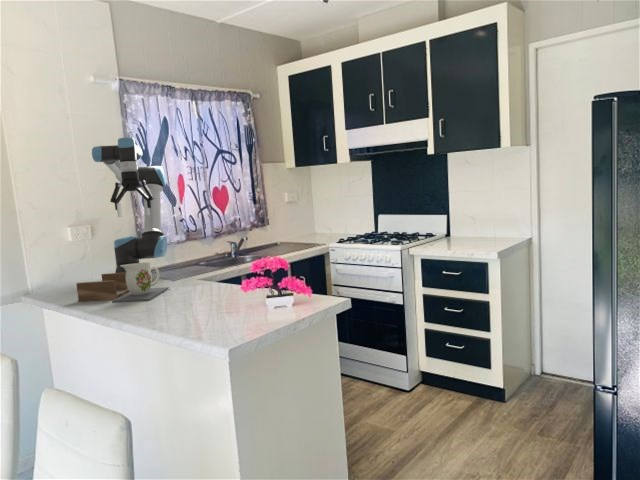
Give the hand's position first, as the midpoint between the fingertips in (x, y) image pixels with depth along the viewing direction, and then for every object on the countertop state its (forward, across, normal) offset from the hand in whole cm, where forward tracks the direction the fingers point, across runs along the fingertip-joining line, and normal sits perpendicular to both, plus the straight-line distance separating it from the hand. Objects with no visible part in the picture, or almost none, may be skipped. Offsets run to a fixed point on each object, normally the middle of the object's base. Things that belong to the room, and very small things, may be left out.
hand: (134, 216), depth 230 cm
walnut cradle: (+35, -10, -12) cm, 38 cm away
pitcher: (+34, +8, -19) cm, 40 cm away
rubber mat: (+35, +8, -19) cm, 40 cm away
